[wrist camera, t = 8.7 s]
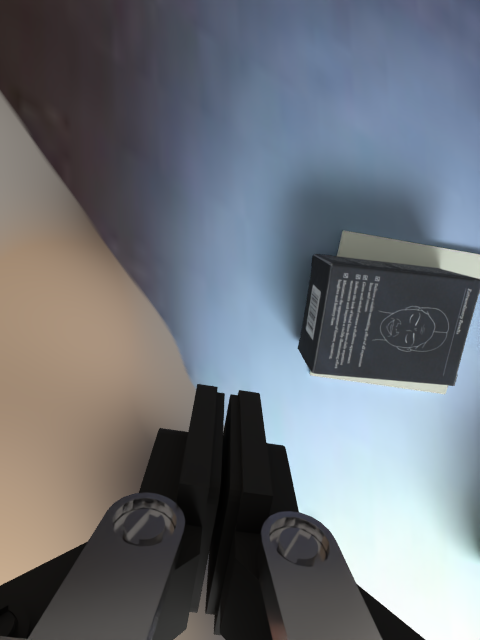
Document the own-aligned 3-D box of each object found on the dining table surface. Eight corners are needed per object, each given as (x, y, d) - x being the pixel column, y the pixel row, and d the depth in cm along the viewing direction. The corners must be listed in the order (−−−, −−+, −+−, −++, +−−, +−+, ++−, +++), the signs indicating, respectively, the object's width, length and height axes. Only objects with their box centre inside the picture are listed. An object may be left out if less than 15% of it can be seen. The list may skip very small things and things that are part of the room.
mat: (342, 230, 32) (344, 230, 32) (487, 255, 33) (490, 256, 33) (309, 373, 35) (310, 375, 35) (442, 392, 36) (445, 394, 36)
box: (295, 347, 34) (420, 360, 35) (309, 374, 29) (456, 389, 29) (312, 251, 32) (443, 267, 33) (330, 261, 26) (487, 280, 27)
